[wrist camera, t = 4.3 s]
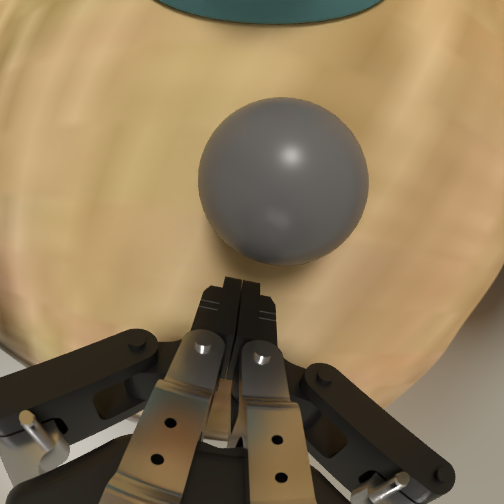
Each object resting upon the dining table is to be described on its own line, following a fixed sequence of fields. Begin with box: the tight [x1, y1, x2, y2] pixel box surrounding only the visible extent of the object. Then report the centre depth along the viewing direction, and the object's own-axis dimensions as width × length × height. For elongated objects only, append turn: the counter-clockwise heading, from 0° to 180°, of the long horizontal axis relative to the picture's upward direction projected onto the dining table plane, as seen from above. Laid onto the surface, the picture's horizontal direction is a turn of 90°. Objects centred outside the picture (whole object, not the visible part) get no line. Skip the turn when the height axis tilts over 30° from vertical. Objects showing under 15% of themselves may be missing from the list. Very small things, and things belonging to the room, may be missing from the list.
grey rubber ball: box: [198, 97, 369, 266], centre depth 9 cm, size 6×6×6 cm
